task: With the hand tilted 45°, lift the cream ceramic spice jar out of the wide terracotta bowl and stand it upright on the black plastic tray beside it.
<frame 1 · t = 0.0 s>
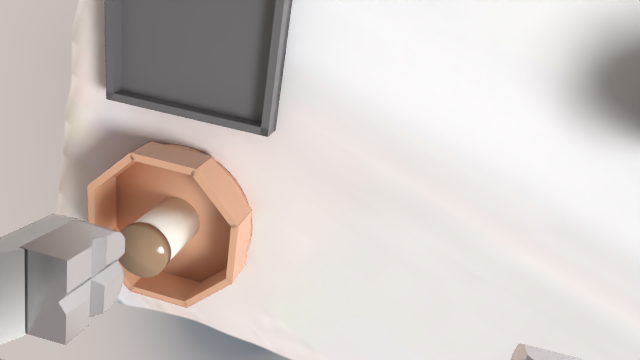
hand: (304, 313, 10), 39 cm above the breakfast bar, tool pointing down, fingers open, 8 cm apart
tray: (200, 35, 49), on the breakfast bar
spice jar: (177, 218, 56), point 1 cm above the breakfast bar, touching bowl
bowl: (182, 215, 57), on the breakfast bar
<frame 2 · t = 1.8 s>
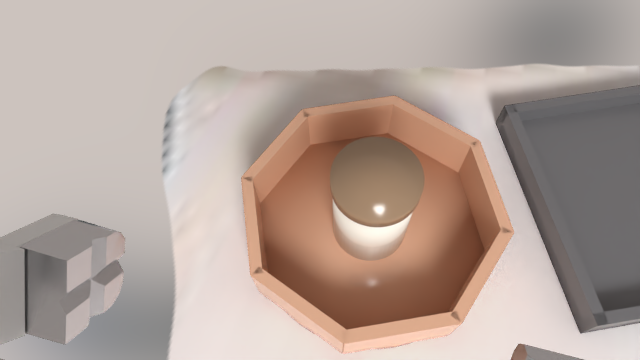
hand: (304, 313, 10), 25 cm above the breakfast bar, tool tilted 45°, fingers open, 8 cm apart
tray: (630, 200, 38), on the breakfast bar
spice jar: (368, 226, 37), point 1 cm above the breakfast bar, touching bowl
bowl: (368, 230, 38), on the breakfast bar
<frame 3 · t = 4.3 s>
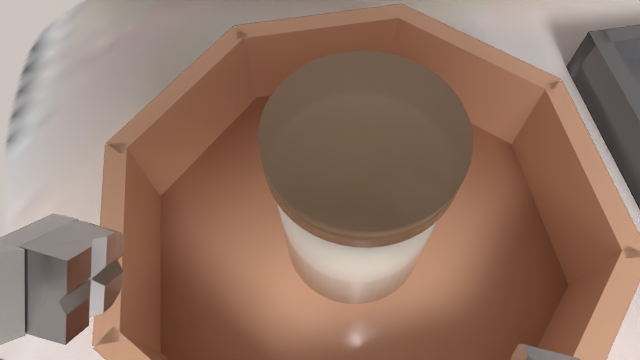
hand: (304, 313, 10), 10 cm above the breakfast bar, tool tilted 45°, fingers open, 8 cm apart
spice jar: (353, 238, 20), point 1 cm above the breakfast bar, touching bowl
bowl: (352, 246, 21), on the breakfast bar
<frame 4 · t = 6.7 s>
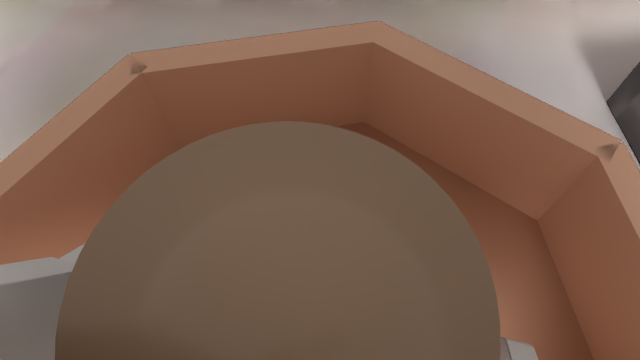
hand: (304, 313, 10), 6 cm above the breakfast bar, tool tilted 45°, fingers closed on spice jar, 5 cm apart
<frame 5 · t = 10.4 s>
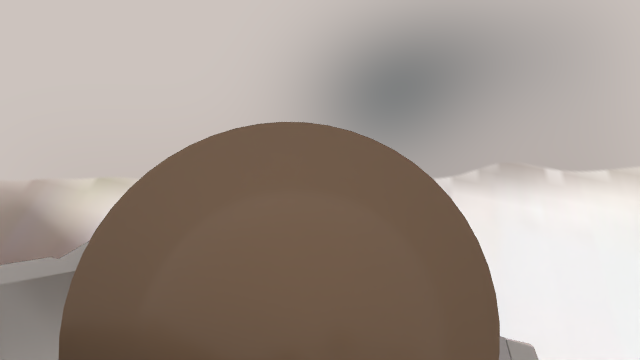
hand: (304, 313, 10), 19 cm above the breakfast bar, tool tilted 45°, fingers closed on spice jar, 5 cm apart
when the fingers open (7 cm above the breakfast bar, at t = 14.2 s): spice jar drops 1 cm, resting on tray.
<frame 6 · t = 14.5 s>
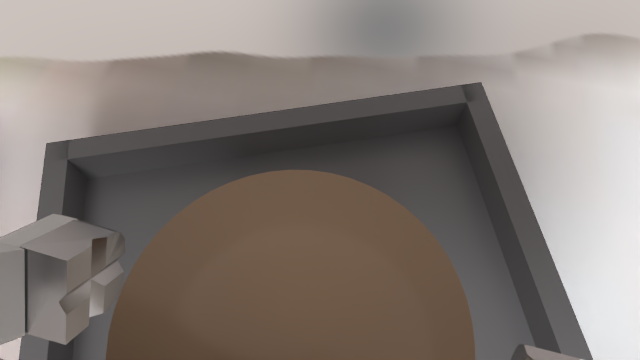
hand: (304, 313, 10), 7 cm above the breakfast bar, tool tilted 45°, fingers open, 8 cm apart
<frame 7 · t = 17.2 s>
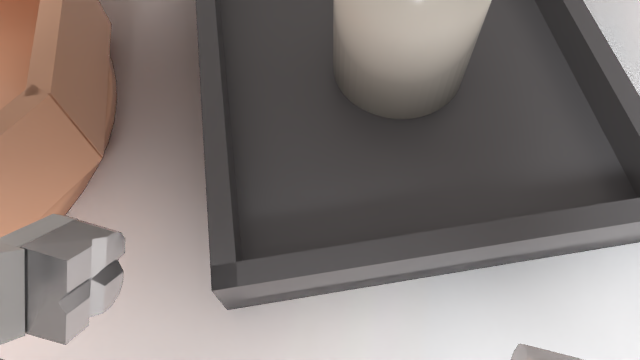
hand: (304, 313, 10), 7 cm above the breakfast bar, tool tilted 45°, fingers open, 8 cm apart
tray: (392, 79, 22), on the breakfast bar
spice jar: (397, 66, 21), point 1 cm above the breakfast bar, touching tray
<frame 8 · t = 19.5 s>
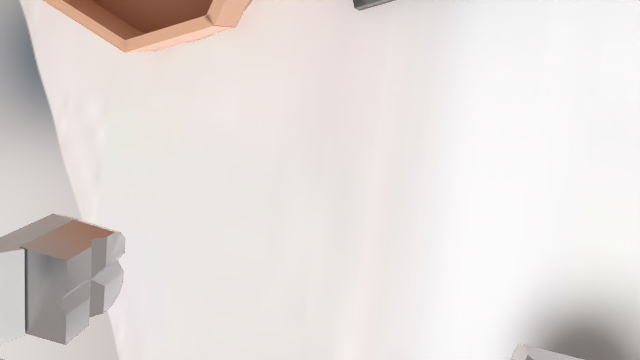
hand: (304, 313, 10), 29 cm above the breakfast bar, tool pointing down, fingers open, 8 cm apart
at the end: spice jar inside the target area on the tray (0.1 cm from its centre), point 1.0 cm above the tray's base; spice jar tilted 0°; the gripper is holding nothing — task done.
